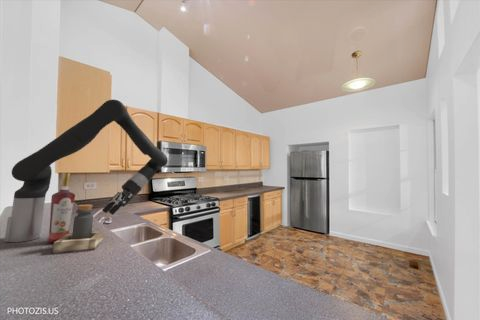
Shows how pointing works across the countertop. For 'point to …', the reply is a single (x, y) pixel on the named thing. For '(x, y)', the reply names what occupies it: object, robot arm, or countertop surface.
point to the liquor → (61, 210)
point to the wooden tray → (78, 243)
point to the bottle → (83, 222)
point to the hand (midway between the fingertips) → (107, 212)
